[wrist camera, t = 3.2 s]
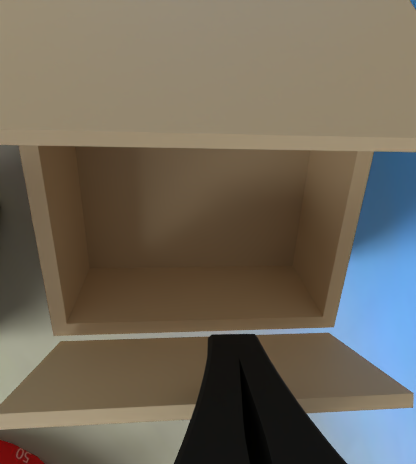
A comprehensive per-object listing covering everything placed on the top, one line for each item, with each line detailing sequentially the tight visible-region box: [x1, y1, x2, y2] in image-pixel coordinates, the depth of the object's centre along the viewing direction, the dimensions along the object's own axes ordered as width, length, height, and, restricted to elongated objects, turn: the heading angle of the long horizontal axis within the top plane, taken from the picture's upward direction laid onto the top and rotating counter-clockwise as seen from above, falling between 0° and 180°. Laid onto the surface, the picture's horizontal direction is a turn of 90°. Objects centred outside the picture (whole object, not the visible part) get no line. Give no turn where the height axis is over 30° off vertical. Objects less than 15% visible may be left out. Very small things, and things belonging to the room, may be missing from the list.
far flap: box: [0, 333, 413, 430], centre depth 12 cm, size 6×11×1 cm
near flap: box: [0, 0, 416, 152], centre depth 8 cm, size 6×11×1 cm
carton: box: [18, 145, 374, 336], centre depth 15 cm, size 12×12×5 cm
